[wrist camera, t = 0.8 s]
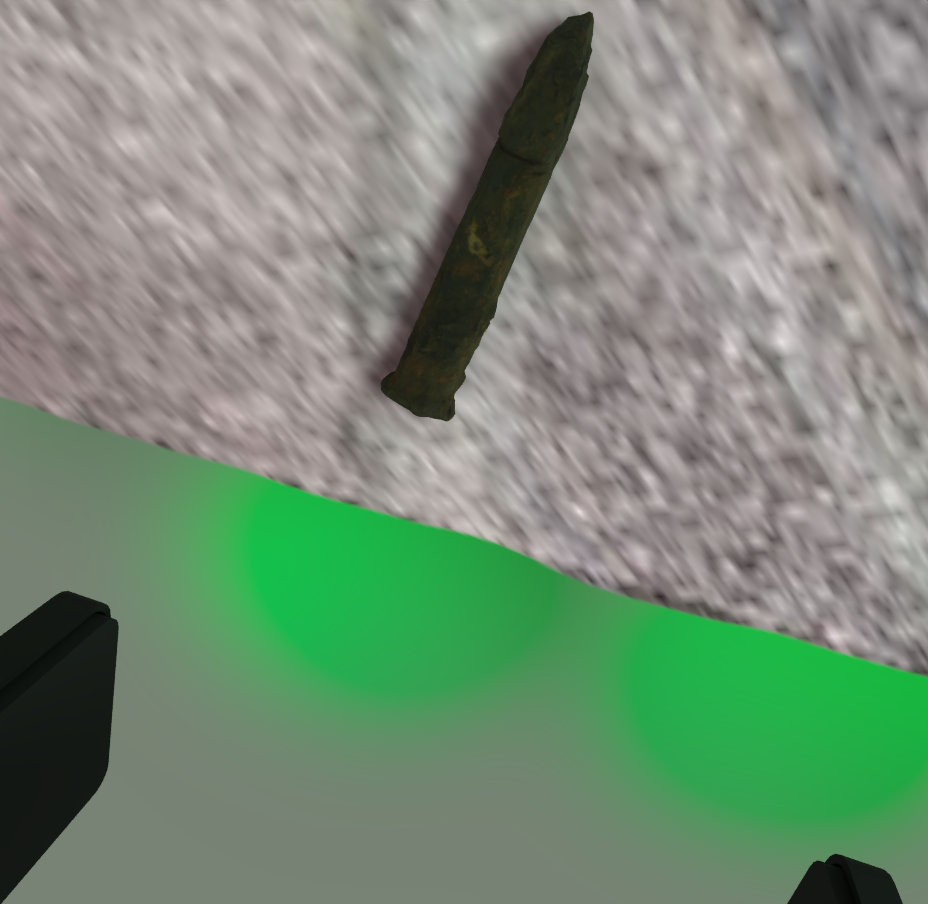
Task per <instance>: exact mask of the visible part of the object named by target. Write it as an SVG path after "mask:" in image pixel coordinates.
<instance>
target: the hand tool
mask: <svg viewBox="0 0 928 904" xmlns="http://www.w3.org/2000/svg"><path fill="white" fill-rule="evenodd" d="M593 24H594V18H593V14H592V13H591V12H587V13H585V14H583V15H577V16H572V17H568V18H567V19H566V20H565V21H564V22H563V23H562V24H561V25H560V26H558V27H557V28H556V29H555V30H554V31H553V32H551V33H550V34H549V35H548V36H547V38H546V40H545V41H544V43H543V45H542V46H541V48H540V50H539V52H538V54H537V56H536V58H535V59H534V61H533V62H532V64H531V65H530V67H529V68H528V70H527V73H526V77H525V80H524V83H523V86H522V88H521V89H520V91H519V92H518V94H517V96H516V97H515V99H514V101H513V103H512V105H511V107H510V108H509V109H508V111H507V112H506V114H505V116H504V119H503V122H502V125H501V127H500V130H499V138H498V140H497V142H496V145H495V146H494V148H493V150H492V152H491V155H490V157H489V160H488V162H487V164H486V167H485V169H484V172H483V174H482V176H481V178H480V181H479V183H478V186H477V189H476V191H475V193H474V195H473V197H472V199H471V200H470V202H469V204H468V207H467V209H466V212H465V214H464V217H463V218H462V220H461V222H460V224H459V226H458V228H457V230H456V232H455V235H454V237H453V239H452V242H451V244H450V247H449V249H448V251H447V253H446V255H445V258H444V260H443V262H442V264H441V267H440V269H439V271H438V274H437V276H436V278H435V281H434V283H433V285H432V287H431V290H430V292H429V294H428V296H427V298H426V300H425V303H424V305H423V307H422V310H421V312H420V314H419V317H418V319H417V321H416V324H415V326H414V328H413V330H412V333H411V335H410V337H409V339H408V343H407V347H406V349H405V351H404V353H403V355H402V358H401V360H400V363H399V365H398V367H397V369H396V371H394V372H392V373H390V374H388V375H387V376H386V377H385V378H384V379H383V380H382V381H381V390H382V392H383V393H384V394H385V395H386V396H387V397H389V398H390V399H392V400H393V401H395V402H396V403H398V404H400V405H401V406H403V407H404V408H406V409H408V410H410V411H411V412H412V413H413V414H414V415H416V416H419V417H430V418H433V419H440V420H444V421H449V420H450V419H451V418H453V416H454V415H455V399H454V394H455V392H456V391H457V390H458V389H459V388H460V386H461V385H462V384H463V382H464V381H465V378H466V376H465V372H464V371H465V369H466V367H467V365H468V364H469V362H470V360H471V358H472V356H473V354H474V351H475V350H476V349H477V347H478V346H479V343H480V341H481V338H482V336H483V333H484V332H485V331H486V329H487V328H488V326H489V324H490V322H489V321H490V320H491V319H492V318H494V315H495V312H496V308H497V301H498V297H499V295H500V293H501V290H502V288H503V285H504V282H505V280H506V278H507V276H508V273H509V271H510V269H511V266H512V264H513V262H514V259H515V257H516V255H517V252H518V250H519V248H520V245H521V243H522V241H523V238H524V236H525V233H526V231H527V229H528V227H529V225H530V223H531V221H532V219H533V217H534V214H535V212H536V210H537V207H538V205H539V203H540V201H541V198H542V196H543V194H544V191H545V189H546V187H547V185H548V182H549V180H550V178H551V175H552V172H553V169H554V168H555V166H556V164H557V162H558V160H559V158H560V156H561V154H562V152H563V150H564V148H565V145H566V143H567V141H568V136H569V133H570V131H571V128H572V126H573V123H574V120H575V118H576V115H577V112H578V109H579V106H580V101H581V97H582V93H583V91H584V89H585V87H586V84H587V81H588V77H589V76H588V75H587V68H588V62H589V59H590V55H591V53H592V48H591V41H592V36H593Z"/></svg>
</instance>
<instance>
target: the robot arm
mask: <svg viewBox="0 0 928 904" xmlns="http://www.w3.org/2000/svg"><path fill="white" fill-rule="evenodd" d="M117 641H118V622H117V620H115V619H113V618H111V615H110V609H109V607H108V605H106V604H104V603H102V602H98V601H96V600H93V599H90V598H87V597H84V596H81V595H78V594H75V593H72V592H69V591H64V592H61V593H59V594H57V595H56V596H54V597H53V598H51V599H50V600H49V601H47V602H46V603H44V604H43V605H42V606H40V607H39V608H38V609H36V610H35V611H34V612H32V613H31V614H30V615H28V616H27V617H26V618H24V619H23V620H21V621H20V622H19V623H17V624H16V625H15V626H13V627H12V628H11V629H9V630H8V631H7V632H5V633H4V634H3V635H1V636H0V904H1V903H2V902H3V900H5V899H6V897H7V896H8V895H9V894H10V893H11V892H12V890H13V889H14V888H15V887H16V886H17V885H18V883H19V882H20V881H21V880H22V879H23V877H24V876H25V875H26V874H27V873H28V872H29V870H30V869H31V868H32V867H33V866H34V865H35V863H36V862H37V861H38V860H39V859H40V857H41V856H42V855H43V854H44V853H45V852H46V850H47V849H48V848H49V847H50V846H51V845H52V843H53V842H54V841H55V840H56V839H57V838H58V836H59V835H60V834H61V833H62V832H63V830H64V829H65V828H66V827H67V826H68V825H69V823H70V822H71V821H72V820H73V819H74V818H75V816H76V815H77V814H78V813H79V812H80V810H81V809H82V808H83V807H84V806H85V805H86V803H87V802H88V801H89V800H90V799H91V797H92V796H93V795H94V794H95V793H96V791H97V790H98V788H99V787H100V785H101V783H102V781H103V779H104V777H105V774H106V772H107V768H108V762H109V749H110V735H111V722H112V709H113V696H114V682H115V668H116V656H117ZM787 904H903V903H902V901H901V898H900V896H899V893H898V890H897V888H896V885H895V883H894V881H893V879H892V877H891V876H890V874H888V873H887V872H886V871H885V870H883V869H881V868H878V867H875V866H872V865H869V864H866V863H863V862H860V861H857V860H854V859H851V858H848V857H845V856H842V855H838V854H834V855H832V856H830V857H829V858H828V859H827V860H826V862H825V863H824V862H821V861H816V862H813V864H812V865H811V866H810V867H809V869H808V871H807V872H806V874H805V876H804V877H803V879H802V880H801V882H800V884H799V885H798V887H797V889H796V890H795V892H794V894H793V895H792V897H791V899H790V900H789V902H788V903H787Z"/></svg>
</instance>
